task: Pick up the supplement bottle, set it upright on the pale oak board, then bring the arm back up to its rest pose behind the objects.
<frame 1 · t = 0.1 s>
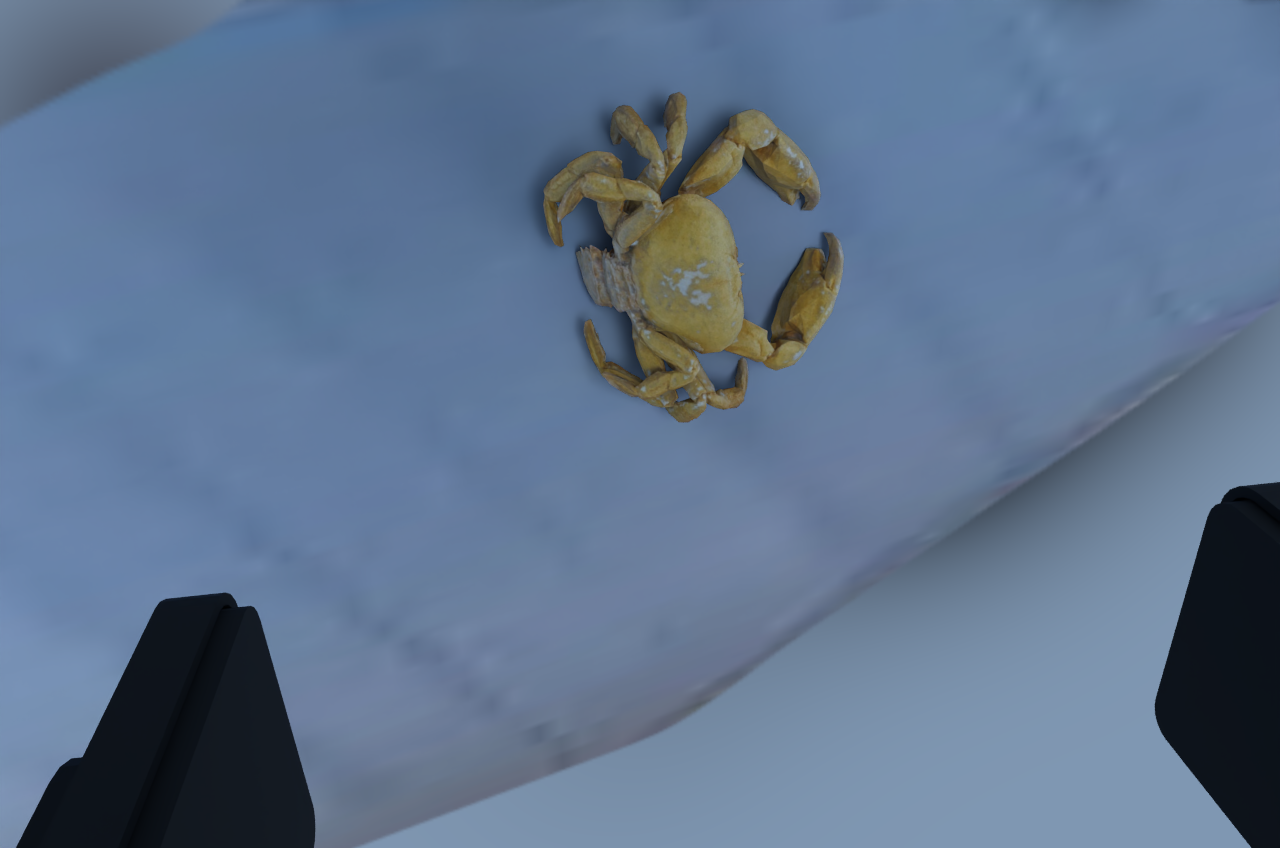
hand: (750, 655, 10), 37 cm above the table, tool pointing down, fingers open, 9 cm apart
crab model: (696, 243, 47), on the table
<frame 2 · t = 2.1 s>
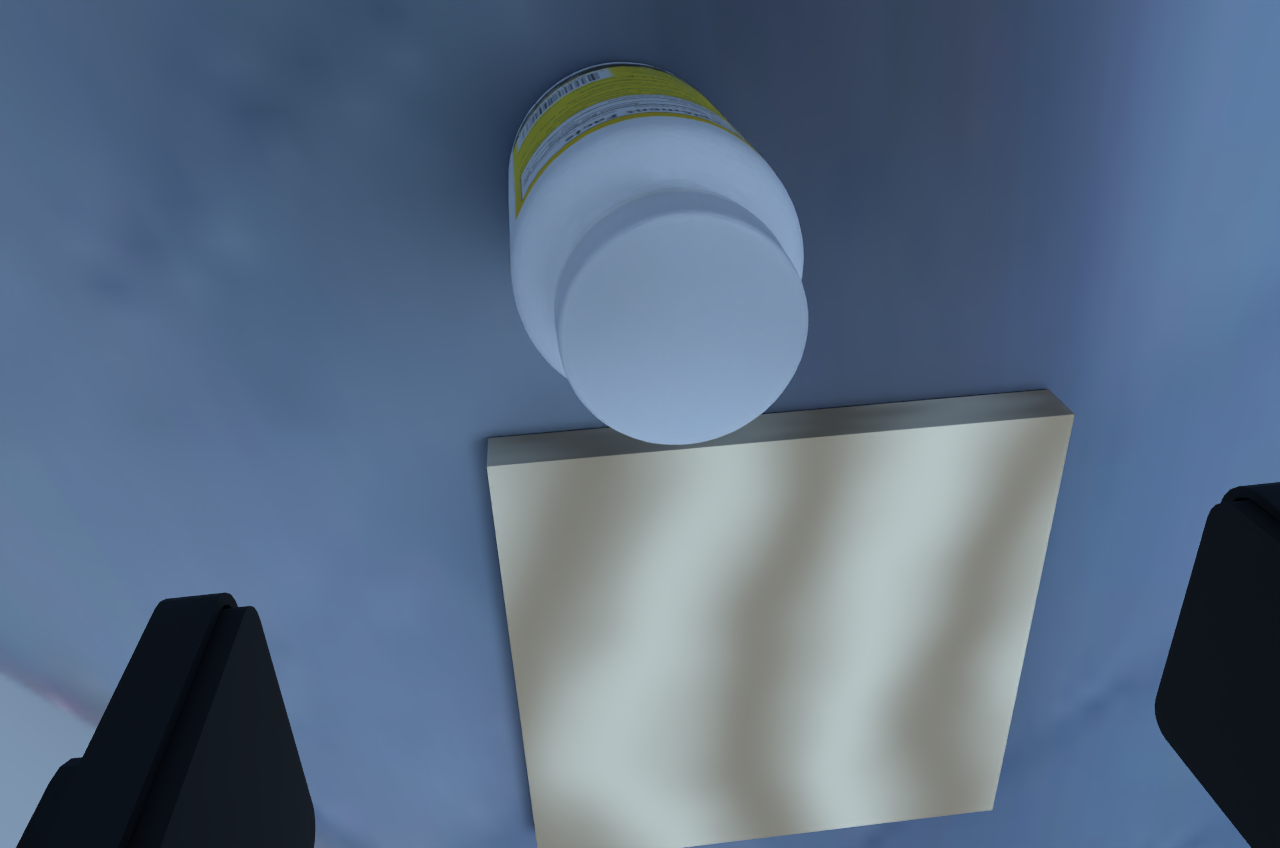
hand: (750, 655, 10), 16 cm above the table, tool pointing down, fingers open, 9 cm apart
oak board: (766, 631, 31), on the table
supplement bottle: (620, 171, 24), on the table
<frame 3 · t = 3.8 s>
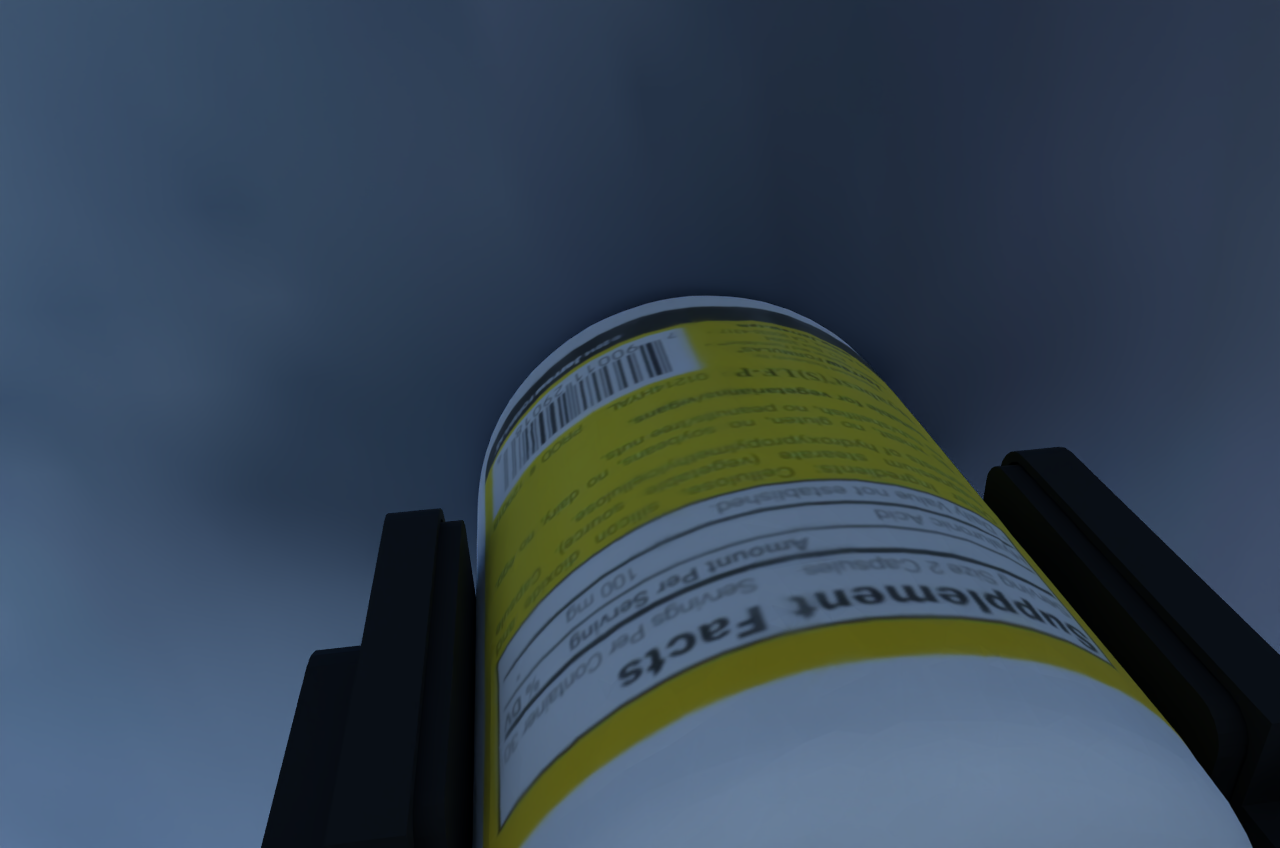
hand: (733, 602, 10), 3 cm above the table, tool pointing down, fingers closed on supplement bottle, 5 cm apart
supplement bottle: (689, 471, 13), on the table, touching gripper
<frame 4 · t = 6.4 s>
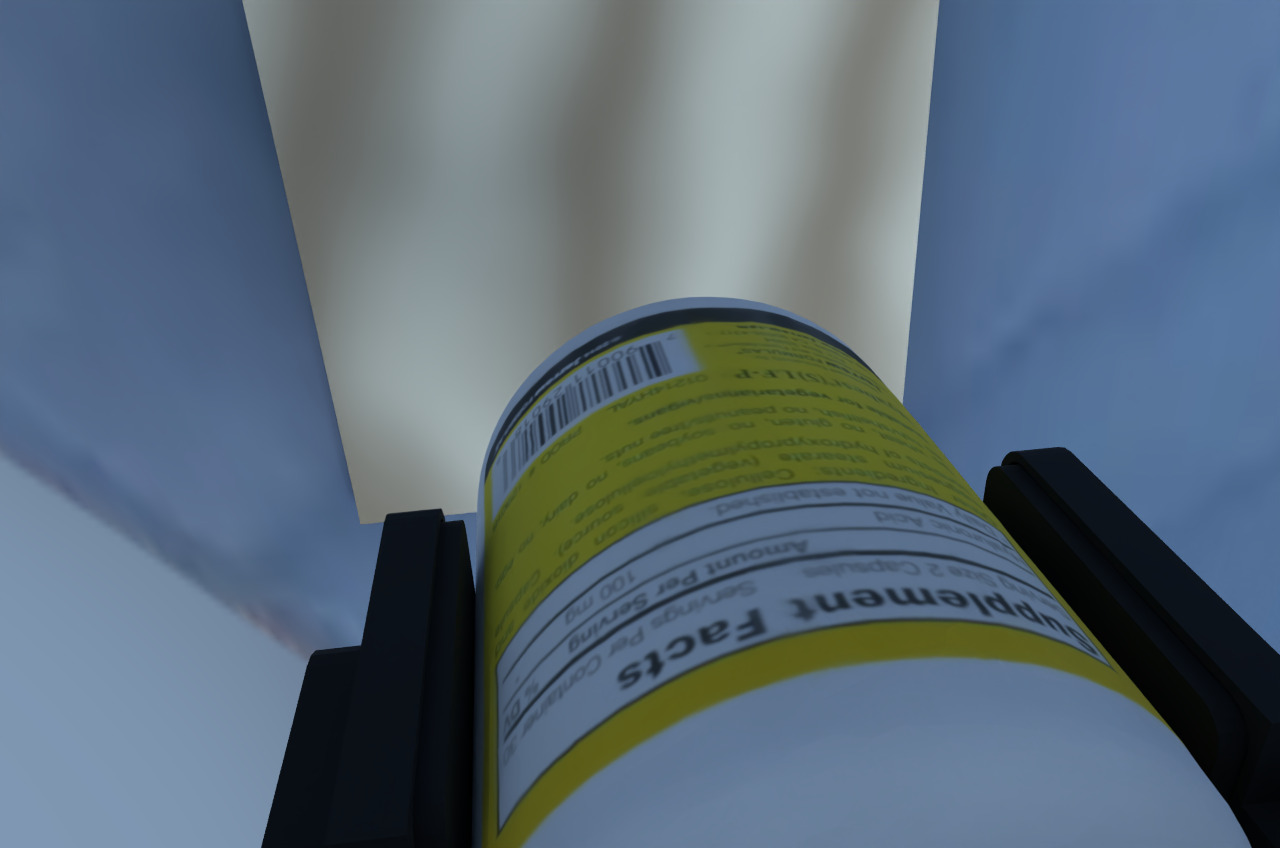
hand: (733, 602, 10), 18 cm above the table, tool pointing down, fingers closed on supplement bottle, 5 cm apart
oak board: (613, 216, 26), on the table
supplement bottle: (689, 472, 13), point 15 cm above the table, touching gripper
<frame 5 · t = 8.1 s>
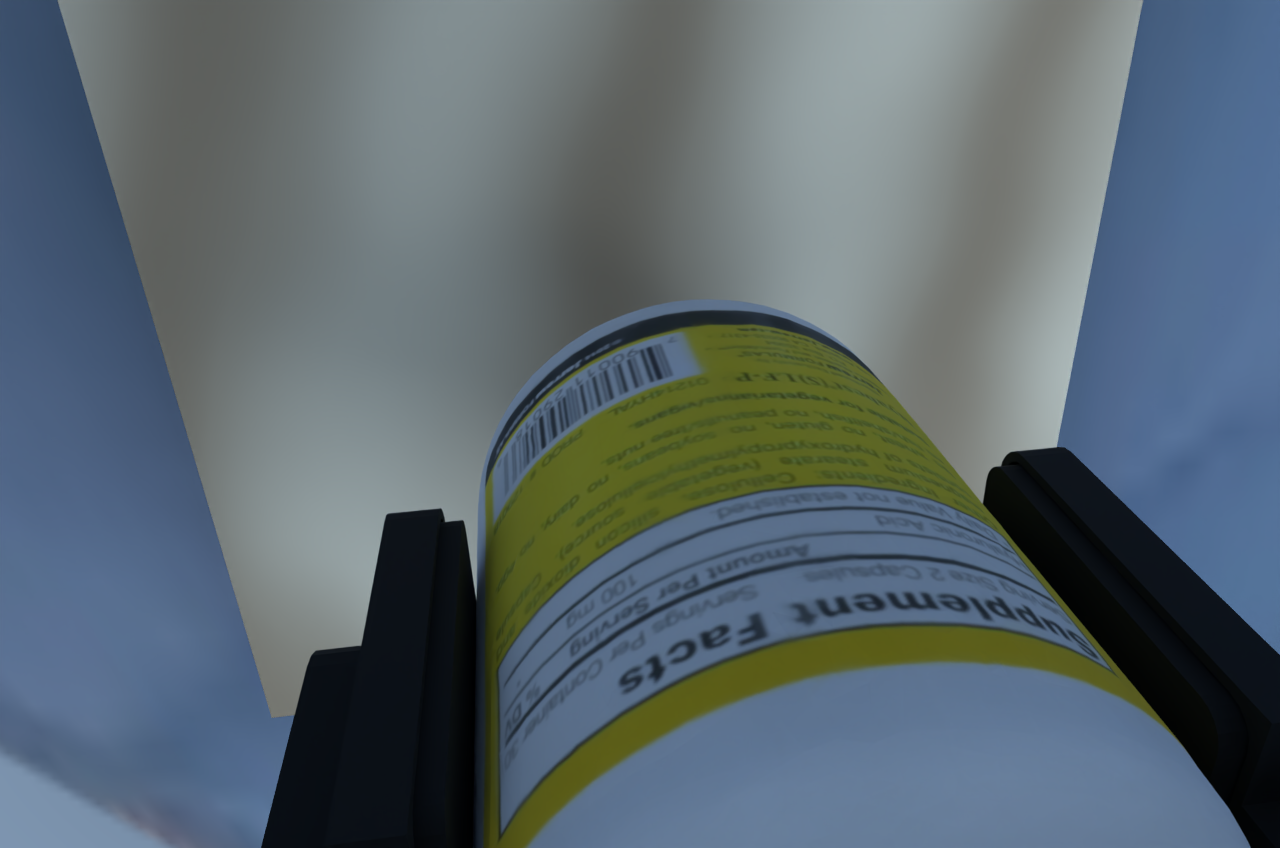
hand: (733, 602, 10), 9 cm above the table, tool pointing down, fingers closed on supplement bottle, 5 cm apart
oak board: (635, 292, 18), on the table
supplement bottle: (690, 474, 13), point 6 cm above the table, touching gripper
when the fingers open (5 cm above the table, at t = 9.2 s): supplement bottle drops 1 cm, resting on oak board.
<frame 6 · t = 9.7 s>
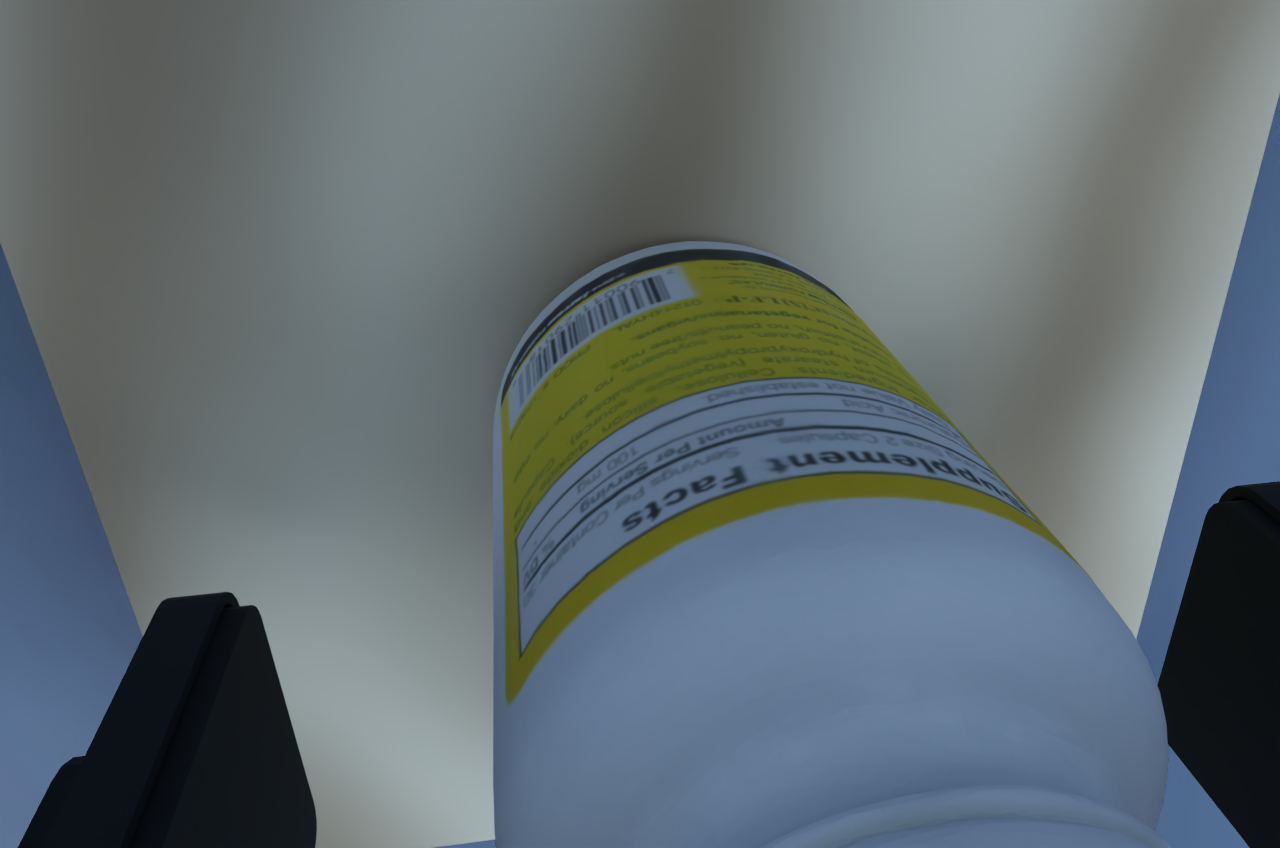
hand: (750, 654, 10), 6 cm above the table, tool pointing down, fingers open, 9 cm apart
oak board: (660, 380, 15), on the table
supplement bottle: (685, 408, 14), point 1 cm above the table, touching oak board
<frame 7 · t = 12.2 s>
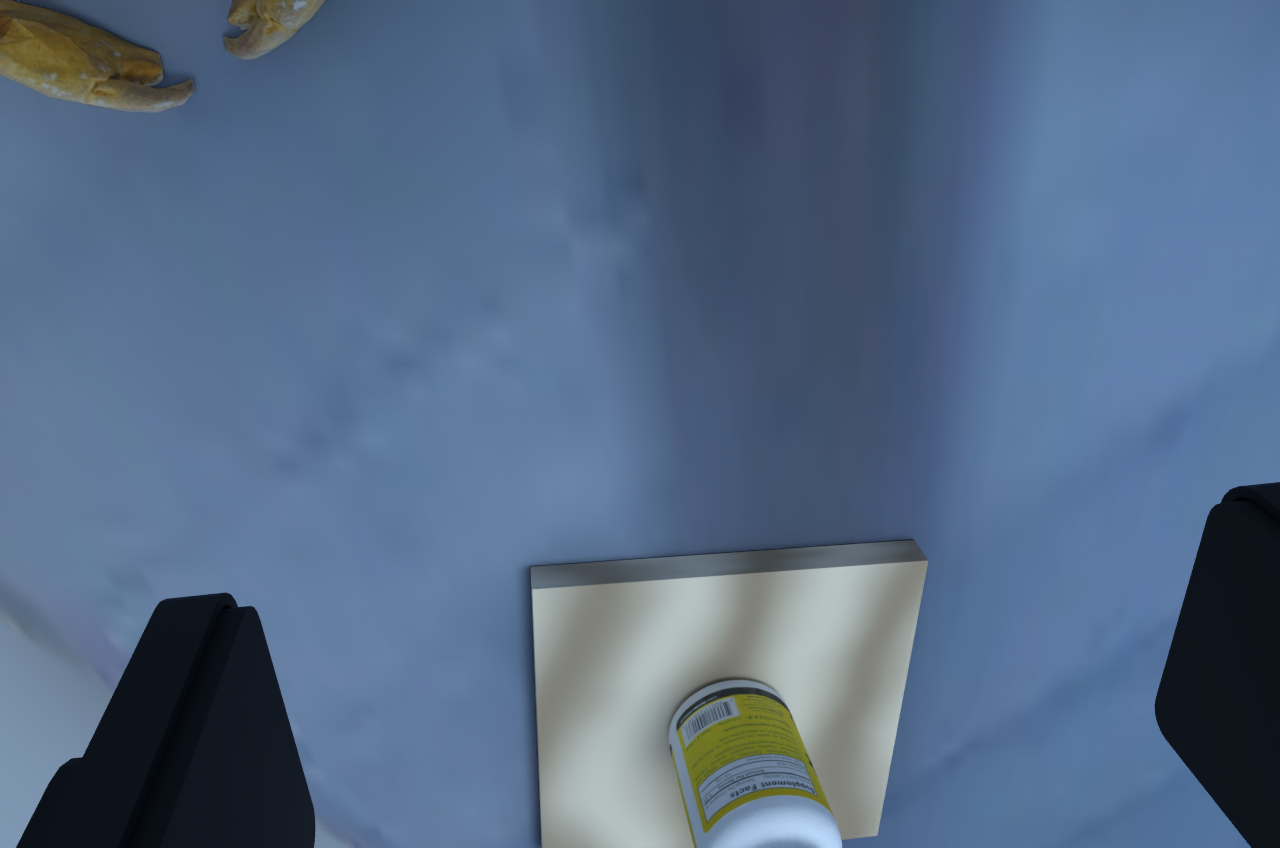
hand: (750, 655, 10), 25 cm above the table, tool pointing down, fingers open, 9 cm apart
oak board: (716, 701, 44), on the table
supplement bottle: (727, 719, 42), point 1 cm above the table, touching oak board
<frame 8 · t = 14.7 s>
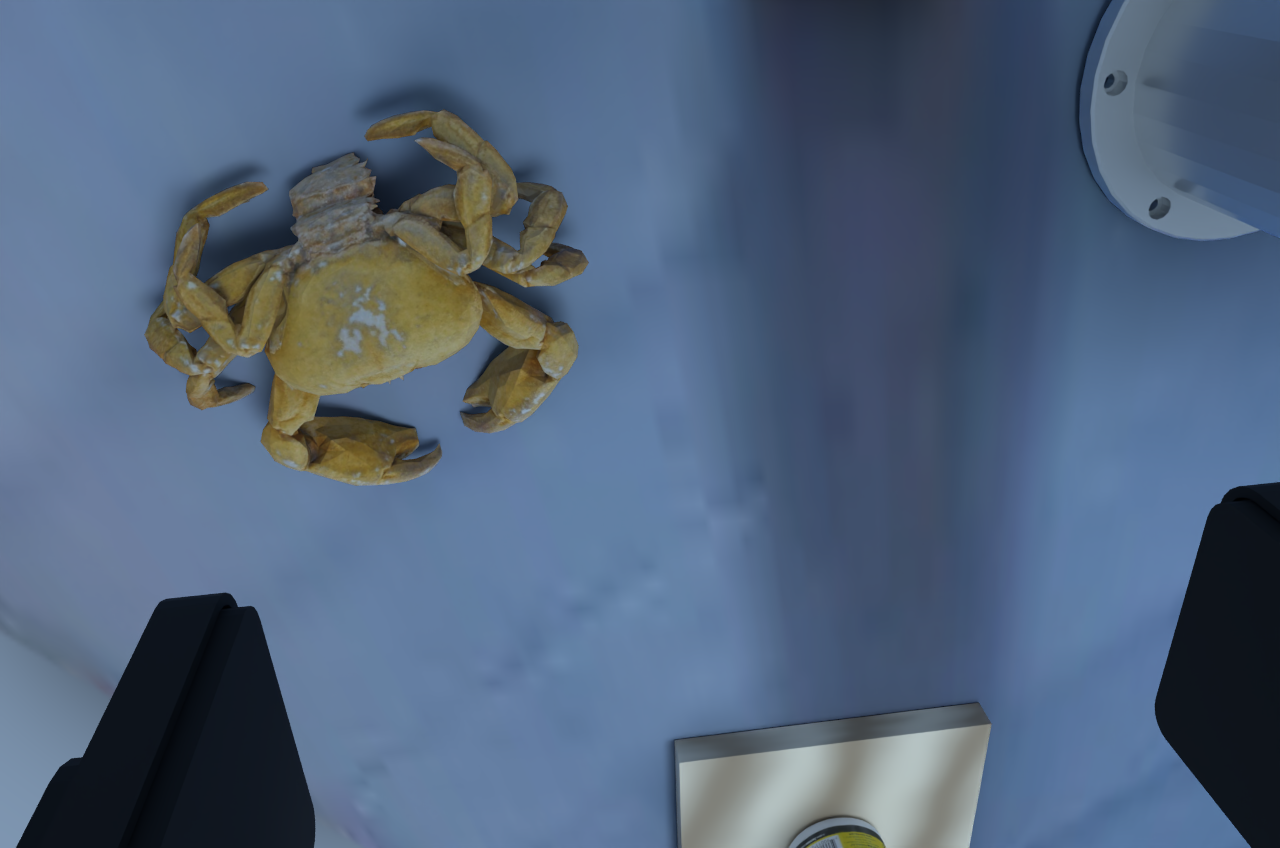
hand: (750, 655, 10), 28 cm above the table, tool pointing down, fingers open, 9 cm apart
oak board: (821, 827, 54), on the table
supplement bottle: (831, 845, 53), point 1 cm above the table, touching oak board
crab model: (393, 301, 37), on the table
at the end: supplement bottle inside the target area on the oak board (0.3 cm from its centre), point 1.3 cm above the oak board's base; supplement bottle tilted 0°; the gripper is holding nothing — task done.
